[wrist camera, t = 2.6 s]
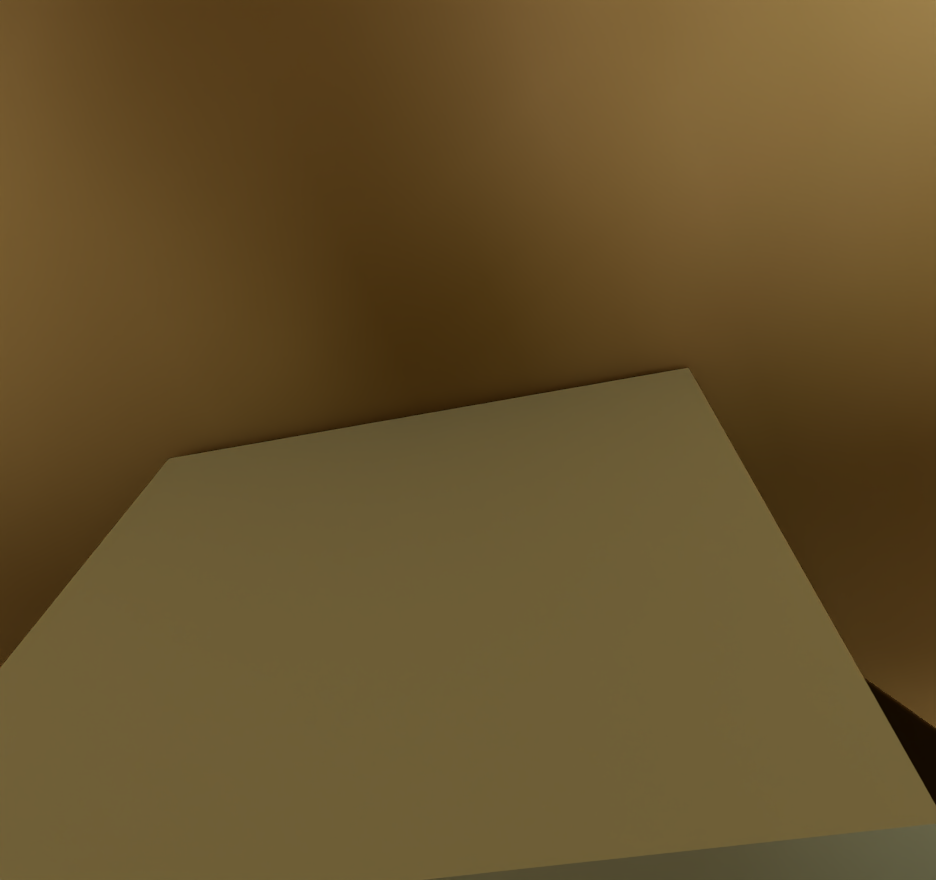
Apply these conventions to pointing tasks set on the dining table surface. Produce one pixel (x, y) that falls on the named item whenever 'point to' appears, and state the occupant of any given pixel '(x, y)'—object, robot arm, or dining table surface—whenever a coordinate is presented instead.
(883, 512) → the dining table surface
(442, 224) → the dining table surface
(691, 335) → the dining table surface
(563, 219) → the dining table surface
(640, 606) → the cube
